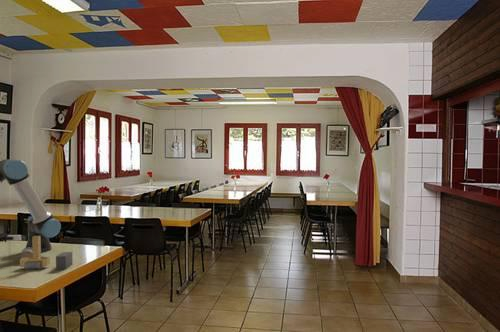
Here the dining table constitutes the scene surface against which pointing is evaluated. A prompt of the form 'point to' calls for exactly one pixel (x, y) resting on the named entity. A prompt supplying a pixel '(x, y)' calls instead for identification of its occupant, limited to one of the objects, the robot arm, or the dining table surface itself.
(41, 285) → the dining table surface
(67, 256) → the slotted grey block
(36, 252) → the t-shaped wooden piece
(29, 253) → the ceramic mug
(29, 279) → the dining table surface
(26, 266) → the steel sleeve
